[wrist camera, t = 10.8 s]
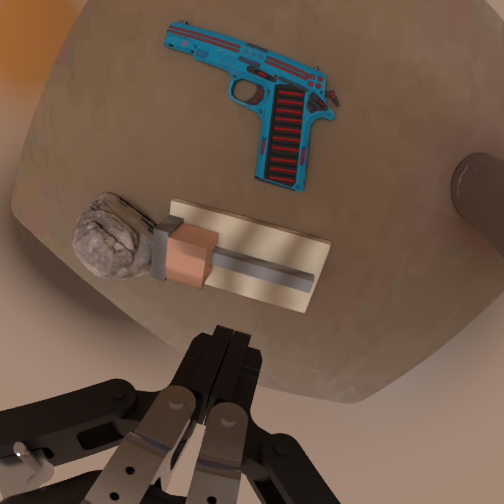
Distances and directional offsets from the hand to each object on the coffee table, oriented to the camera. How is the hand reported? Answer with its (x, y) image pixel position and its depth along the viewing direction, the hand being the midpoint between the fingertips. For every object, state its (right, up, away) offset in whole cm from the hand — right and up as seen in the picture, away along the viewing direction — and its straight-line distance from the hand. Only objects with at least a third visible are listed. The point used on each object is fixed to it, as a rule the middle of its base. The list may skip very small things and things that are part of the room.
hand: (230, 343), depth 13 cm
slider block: (-6, +4, +28) cm, 29 cm away
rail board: (0, +3, +29) cm, 29 cm away
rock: (-18, +6, +32) cm, 37 cm away
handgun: (-1, +22, +21) cm, 30 cm away
